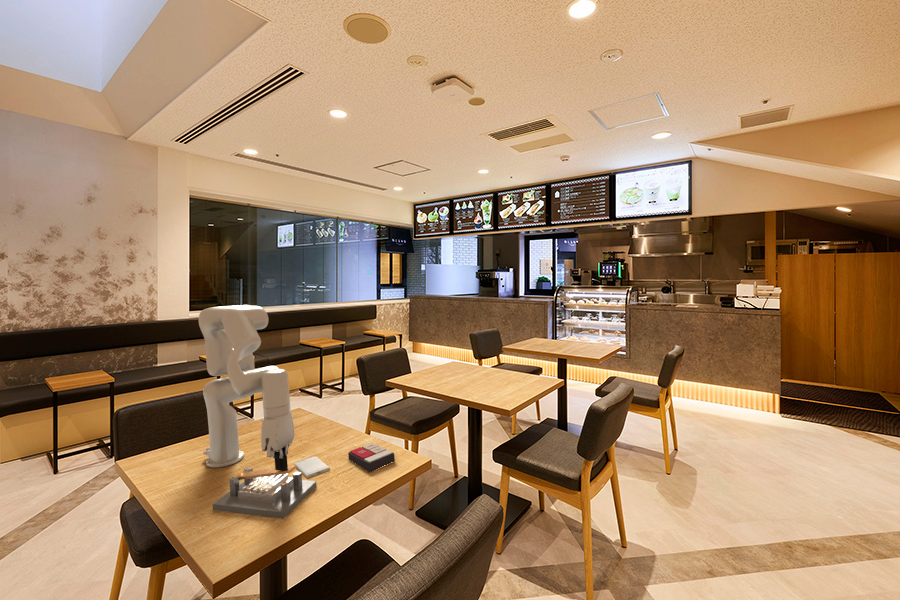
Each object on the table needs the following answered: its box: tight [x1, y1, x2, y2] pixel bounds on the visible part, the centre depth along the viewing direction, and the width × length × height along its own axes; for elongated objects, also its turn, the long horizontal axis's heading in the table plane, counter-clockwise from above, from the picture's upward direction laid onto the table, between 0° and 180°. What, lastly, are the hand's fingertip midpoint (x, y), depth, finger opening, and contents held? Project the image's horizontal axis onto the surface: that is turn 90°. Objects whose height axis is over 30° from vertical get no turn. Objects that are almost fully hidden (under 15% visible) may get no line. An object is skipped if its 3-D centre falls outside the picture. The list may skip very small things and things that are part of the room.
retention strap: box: [235, 465, 297, 481], centre depth 120 cm, size 20×4×2 cm, turn 77°
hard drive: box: [293, 455, 331, 479], centre depth 139 cm, size 2×8×12 cm
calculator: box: [348, 442, 396, 473], centre depth 143 cm, size 11×4×15 cm
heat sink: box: [228, 466, 303, 503], centre depth 120 cm, size 20×10×5 cm, turn 77°
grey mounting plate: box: [212, 478, 318, 520], centre depth 120 cm, size 24×17×2 cm
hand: (281, 469), depth 118 cm, fingers closed
